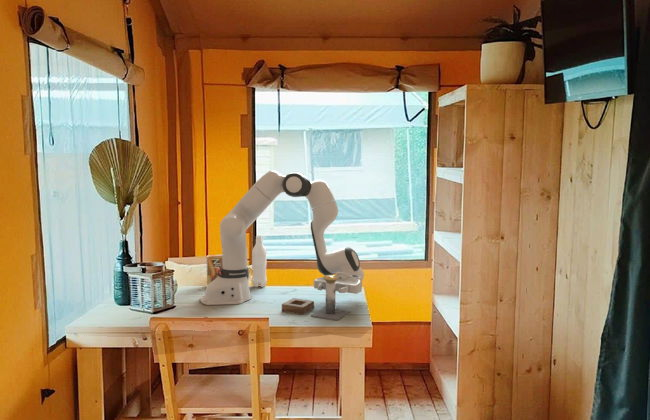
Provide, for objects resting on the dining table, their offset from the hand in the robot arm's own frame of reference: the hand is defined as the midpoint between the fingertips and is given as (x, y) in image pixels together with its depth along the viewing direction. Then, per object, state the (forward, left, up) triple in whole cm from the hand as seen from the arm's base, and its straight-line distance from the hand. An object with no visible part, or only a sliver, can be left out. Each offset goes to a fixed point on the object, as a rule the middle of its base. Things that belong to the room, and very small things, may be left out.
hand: (329, 289), depth 212 cm
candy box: (-37, +61, -11) cm, 72 cm away
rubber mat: (+1, +1, -11) cm, 11 cm away
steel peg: (+1, +1, -10) cm, 10 cm away
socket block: (-10, +11, -11) cm, 18 cm away
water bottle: (-17, +54, -11) cm, 58 cm away
